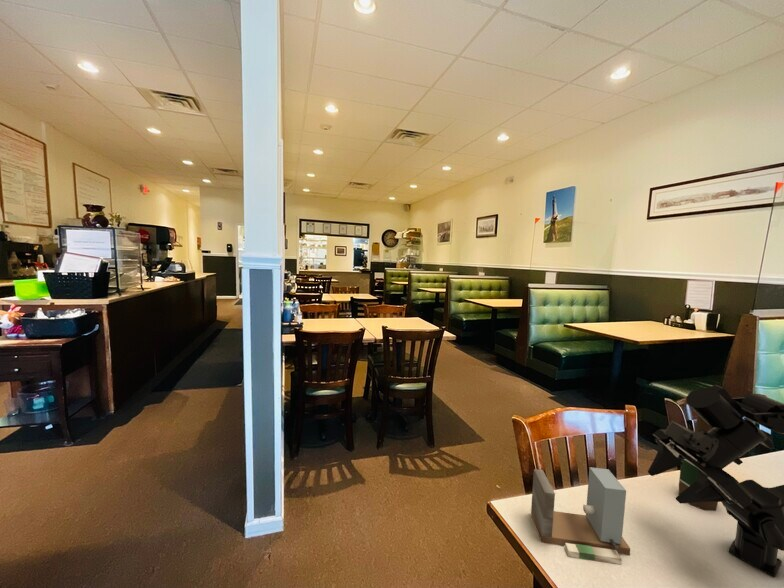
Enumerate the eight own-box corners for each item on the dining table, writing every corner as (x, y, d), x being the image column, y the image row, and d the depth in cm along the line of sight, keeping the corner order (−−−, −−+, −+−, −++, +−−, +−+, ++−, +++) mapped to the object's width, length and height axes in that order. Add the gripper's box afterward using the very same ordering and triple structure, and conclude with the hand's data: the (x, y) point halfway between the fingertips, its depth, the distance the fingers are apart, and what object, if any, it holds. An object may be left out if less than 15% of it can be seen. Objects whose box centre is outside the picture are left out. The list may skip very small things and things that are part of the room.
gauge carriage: (604, 518, 73) (608, 469, 72) (627, 553, 64) (632, 498, 63) (576, 514, 74) (580, 466, 73) (595, 548, 65) (600, 494, 64)
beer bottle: (670, 494, 84) (679, 408, 82) (685, 486, 87) (694, 403, 85) (709, 515, 77) (720, 421, 75) (723, 506, 80) (734, 416, 78)
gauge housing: (609, 524, 73) (613, 478, 72) (637, 566, 63) (642, 513, 62) (530, 514, 76) (533, 469, 75) (545, 552, 65) (549, 501, 64)
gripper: (665, 395, 74) (611, 436, 77) (740, 437, 56) (666, 488, 58) (699, 430, 74) (644, 469, 76) (787, 483, 55) (710, 533, 58)
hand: (662, 486), depth 67 cm, fingers open, 8 cm apart
